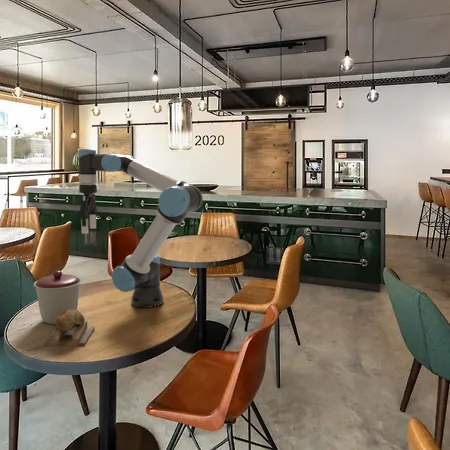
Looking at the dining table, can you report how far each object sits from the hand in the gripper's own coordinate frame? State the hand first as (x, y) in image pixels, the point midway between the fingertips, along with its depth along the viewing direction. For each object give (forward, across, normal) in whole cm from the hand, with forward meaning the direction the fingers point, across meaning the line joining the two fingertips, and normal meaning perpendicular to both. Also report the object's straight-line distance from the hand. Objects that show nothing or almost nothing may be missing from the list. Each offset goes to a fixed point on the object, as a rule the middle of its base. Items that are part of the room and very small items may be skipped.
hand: (89, 230), depth 177 cm
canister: (+35, +19, -8) cm, 41 cm away
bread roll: (+30, +36, +2) cm, 47 cm away
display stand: (+35, +36, +2) cm, 50 cm away
